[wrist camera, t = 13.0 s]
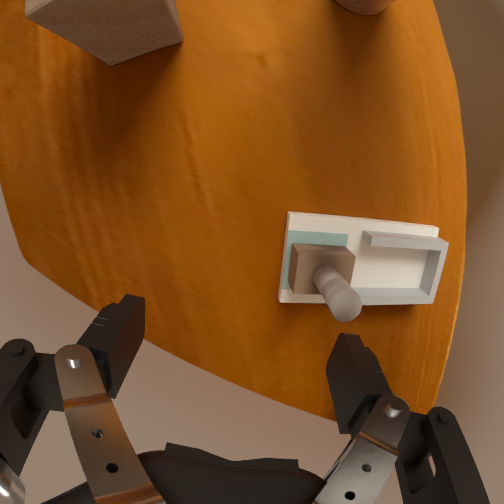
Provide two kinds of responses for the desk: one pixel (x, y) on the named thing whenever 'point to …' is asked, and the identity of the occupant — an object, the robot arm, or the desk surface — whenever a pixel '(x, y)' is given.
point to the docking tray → (372, 257)
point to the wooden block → (110, 25)
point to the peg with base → (325, 277)
